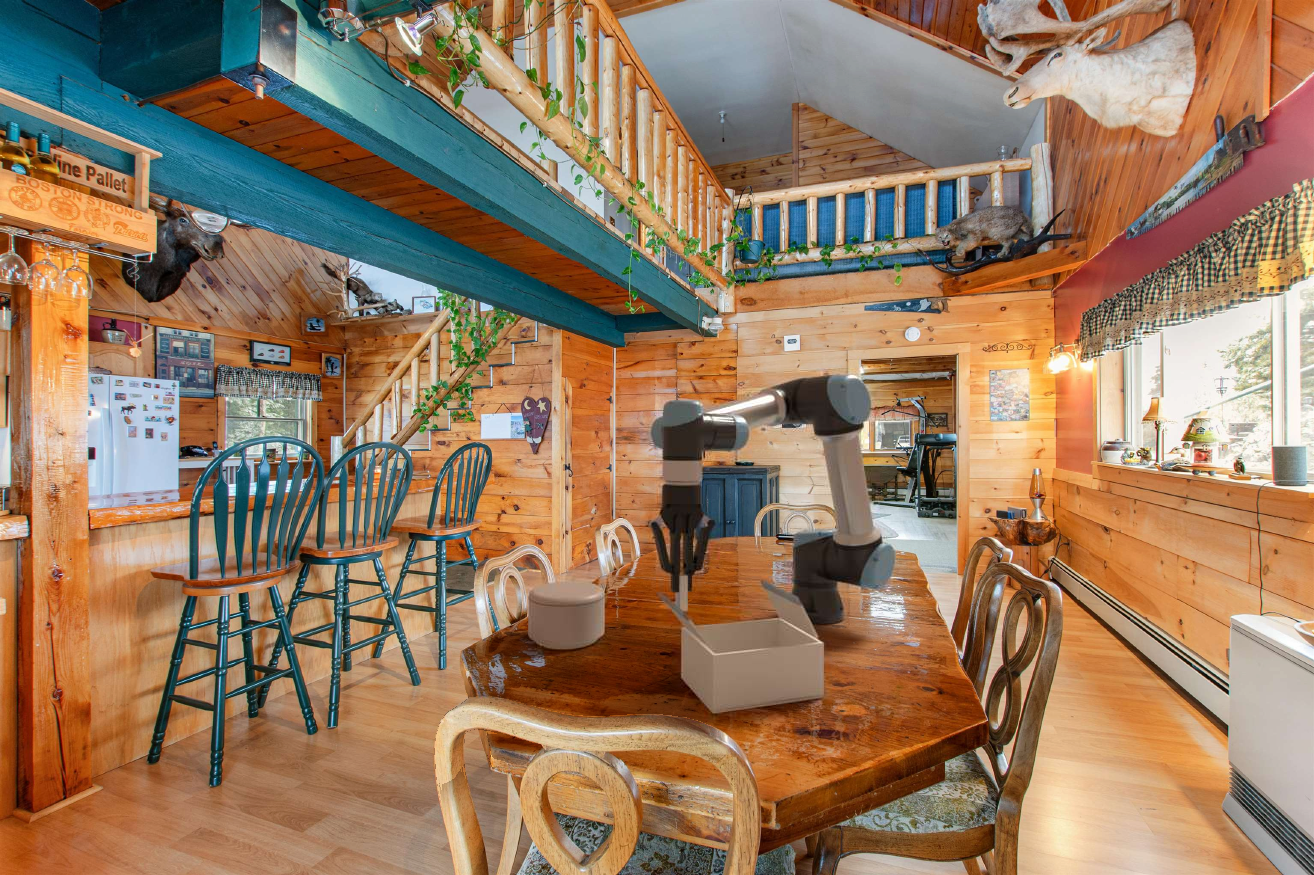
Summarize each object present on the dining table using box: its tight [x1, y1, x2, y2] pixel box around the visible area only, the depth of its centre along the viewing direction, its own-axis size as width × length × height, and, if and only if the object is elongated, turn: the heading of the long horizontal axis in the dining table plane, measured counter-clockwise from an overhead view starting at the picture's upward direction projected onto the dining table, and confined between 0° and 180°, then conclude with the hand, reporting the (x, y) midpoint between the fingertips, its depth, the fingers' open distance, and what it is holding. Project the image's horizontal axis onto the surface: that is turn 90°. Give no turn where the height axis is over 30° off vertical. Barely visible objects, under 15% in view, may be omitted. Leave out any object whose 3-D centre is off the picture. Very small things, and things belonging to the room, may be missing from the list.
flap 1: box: [657, 592, 714, 650], centre depth 109 cm, size 9×14×1 cm
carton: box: [680, 617, 825, 714], centre depth 113 cm, size 22×16×10 cm
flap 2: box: [760, 579, 819, 639], centre depth 115 cm, size 9×14×1 cm
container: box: [527, 580, 606, 650], centre depth 140 cm, size 18×18×12 cm
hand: (681, 608), depth 111 cm, fingers closed
